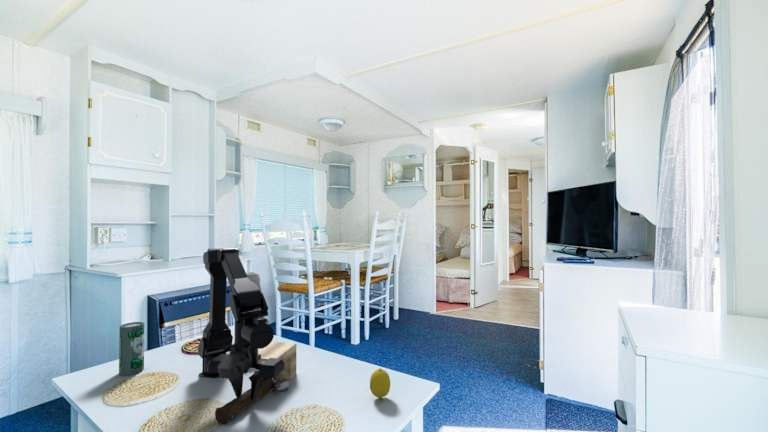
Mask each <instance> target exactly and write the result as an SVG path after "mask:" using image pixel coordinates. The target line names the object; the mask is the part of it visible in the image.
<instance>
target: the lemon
mask: <svg viewBox="0 0 768 432" xmlns="http://www.w3.org/2000/svg"><path fill="white" fill-rule="evenodd" d="M369 388H370V392H371V394H372V395H373V396H374V397H376V398H377V399H379V400H382V398H384V397H386V396H387V395H388V394H389V392H390V389H391V378H390V375H389V373H388V372H387V371H386V370H384V369H382V368H378V369H376V370H374V371H373V372H372V374H371V376H370V379H369Z"/></svg>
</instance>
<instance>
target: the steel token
mask: <svg viewBox="0 0 768 432" xmlns="http://www.w3.org/2000/svg"><path fill="white" fill-rule="evenodd" d="M289 383H290V381H289V379H278V378H277V379H276V380H273V388H272V392H273V393H274V394H282V393H286V392H288V390H289V389H290V384H289Z"/></svg>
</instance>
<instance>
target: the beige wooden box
mask: <svg viewBox="0 0 768 432" xmlns="http://www.w3.org/2000/svg"><path fill="white" fill-rule="evenodd" d="M258 354H261V359H259V360H258V362H265V361H267V360H268V359H269V358H278V359H282V360H283V361H284V363H285V364H284V370H283V371H282V372H280V373H279V374H278V375H277V376H276V377H275V378H274V379H277V380H278V379H287V380H288V381H289V380H292V379H293V378H294V377H295V376H296V375H297V342H294V343H293V342H282V341H280V342H279V341H271V343H270V344H269V345H268V346H267V347H265V348H262V349H258Z"/></svg>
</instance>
